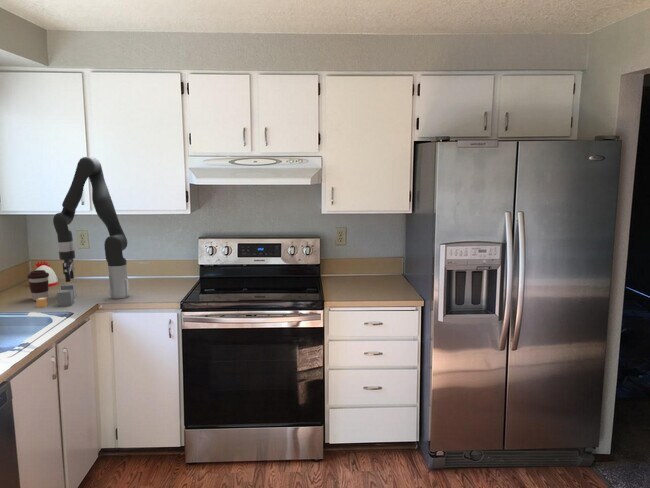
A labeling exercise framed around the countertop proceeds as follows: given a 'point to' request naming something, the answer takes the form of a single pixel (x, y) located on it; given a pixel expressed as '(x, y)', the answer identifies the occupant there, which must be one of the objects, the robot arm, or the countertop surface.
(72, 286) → the plain grey cube
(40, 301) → the letter cube
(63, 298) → the matte grey cube
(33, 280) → the coffee cup
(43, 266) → the kitchen timer
